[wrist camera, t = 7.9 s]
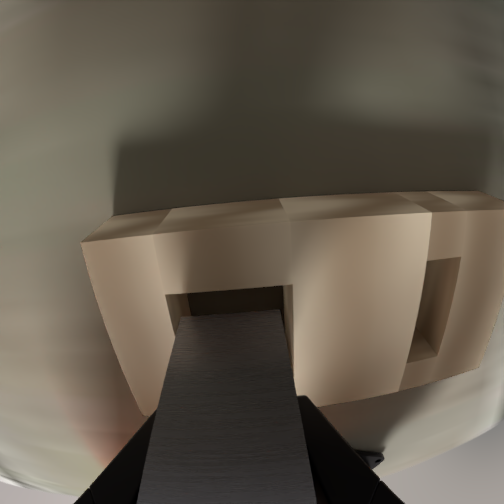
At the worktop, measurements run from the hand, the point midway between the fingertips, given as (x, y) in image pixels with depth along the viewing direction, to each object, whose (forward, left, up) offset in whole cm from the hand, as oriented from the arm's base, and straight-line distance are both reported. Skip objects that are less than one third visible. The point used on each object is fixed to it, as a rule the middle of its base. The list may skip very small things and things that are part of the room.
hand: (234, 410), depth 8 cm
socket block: (-3, -2, -6) cm, 7 cm away
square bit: (0, 0, -2) cm, 2 cm away
